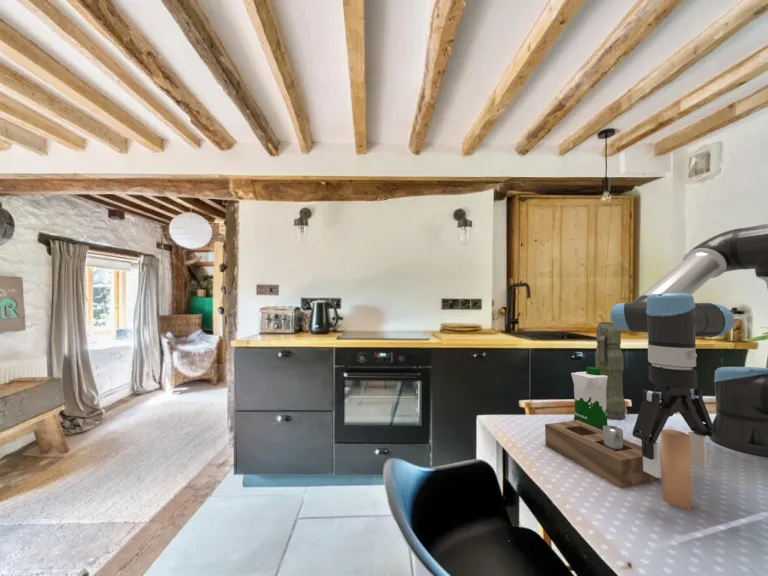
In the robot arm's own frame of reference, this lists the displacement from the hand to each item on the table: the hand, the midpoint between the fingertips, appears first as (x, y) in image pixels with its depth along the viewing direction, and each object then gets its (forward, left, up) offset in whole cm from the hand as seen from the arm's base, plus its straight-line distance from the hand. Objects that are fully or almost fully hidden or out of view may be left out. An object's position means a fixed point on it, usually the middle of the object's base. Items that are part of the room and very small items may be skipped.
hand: (675, 469), depth 65 cm
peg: (0, 0, -8) cm, 8 cm away
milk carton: (-21, -38, -8) cm, 44 cm away
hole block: (0, -18, -8) cm, 20 cm away
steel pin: (0, -13, -7) cm, 15 cm away
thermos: (-39, -45, -8) cm, 60 cm away
